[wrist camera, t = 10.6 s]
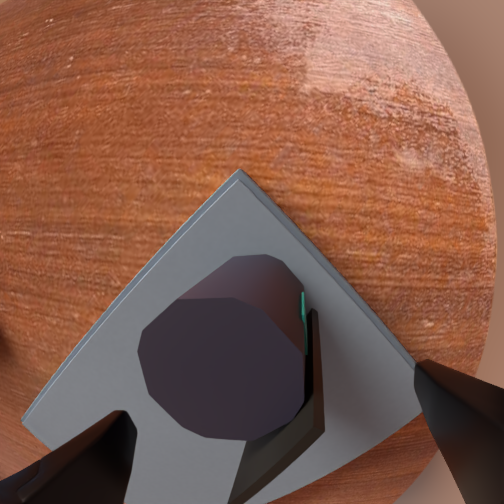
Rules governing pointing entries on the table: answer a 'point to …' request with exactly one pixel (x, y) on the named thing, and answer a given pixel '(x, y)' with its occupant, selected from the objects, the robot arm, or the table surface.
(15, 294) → the table surface
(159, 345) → the speaker
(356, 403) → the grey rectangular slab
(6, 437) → the table surface
